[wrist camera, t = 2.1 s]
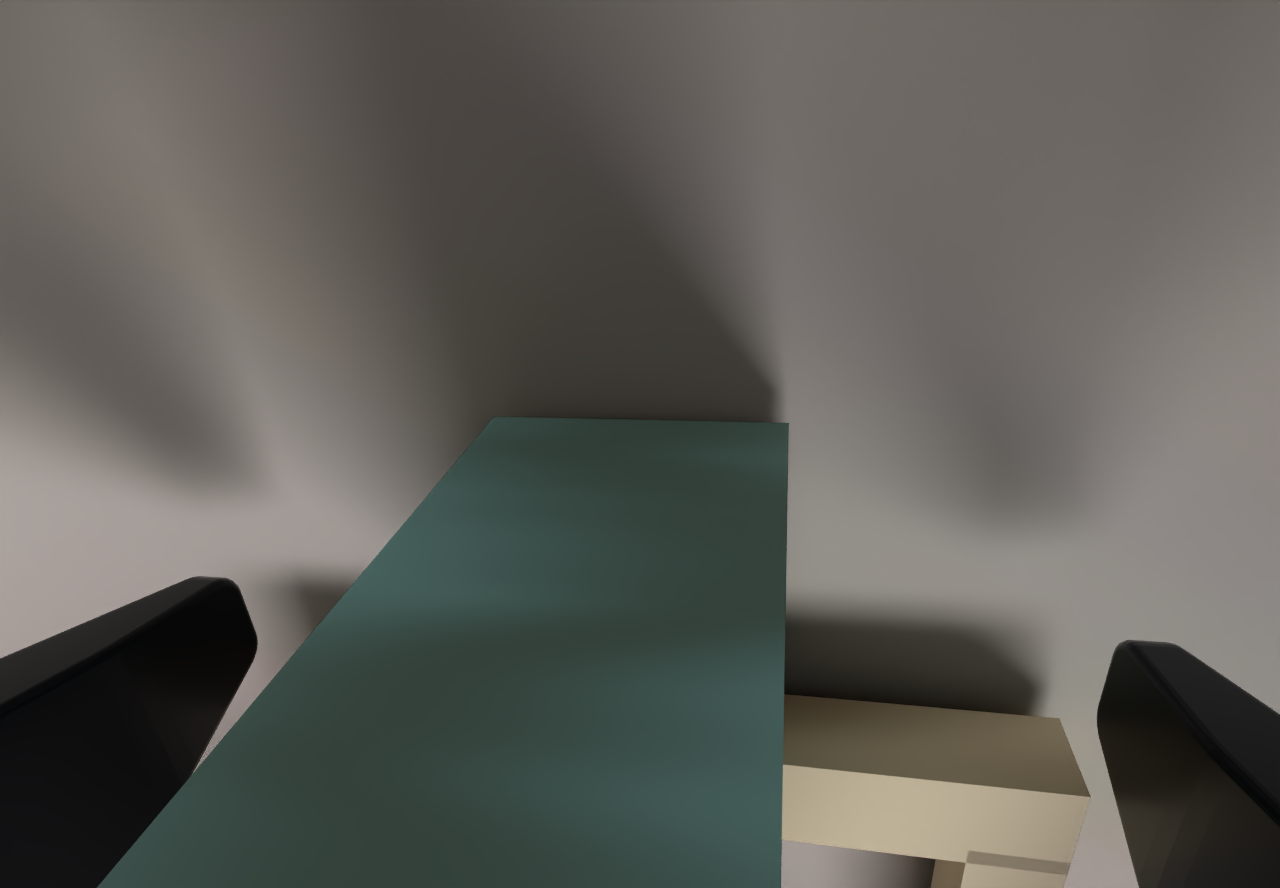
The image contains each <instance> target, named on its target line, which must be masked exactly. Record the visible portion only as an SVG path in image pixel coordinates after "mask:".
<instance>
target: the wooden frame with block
mask: <svg viewBox="0 0 1280 888" xmlns="http://www.w3.org/2000/svg"><path fill="white" fill-rule="evenodd" d="M788 431H789V423H766V422H720V421H673V420H626V419H579V418H532V417H494V418H493V419H492V420H491V421H490V422H489V423H488V425H487V426H486V427H485V428H484V429H483V431H482V432H481V433H480V434H479V435H478V436H477V438H476V439H475V440H474V441H473V442H472V444H471V445H470V446H469V447H468V448H467V450H466V451H465V452H464V453H463V454H462V455H461V457H460V458H459V459H458V460H457V461H456V463H455V464H454V465H453V466H452V467H451V468H450V470H449V471H448V472H447V473H446V474H445V476H444V477H443V478H442V479H441V480H440V482H439V483H438V484H437V485H436V486H435V487H434V489H433V490H432V491H431V492H430V493H429V495H428V496H427V497H426V498H425V499H424V501H423V502H422V503H421V504H420V505H419V506H418V508H417V509H416V510H415V511H414V512H413V514H412V515H411V516H410V517H409V518H408V519H407V521H406V522H405V523H404V524H403V525H402V527H401V528H400V529H399V530H398V531H397V533H396V534H395V535H394V536H393V537H392V538H391V540H390V541H389V542H388V543H387V544H386V546H385V547H384V548H383V549H382V550H381V551H380V553H379V554H378V555H377V556H376V557H375V559H374V560H373V561H372V562H371V563H370V565H369V566H368V567H367V568H366V569H365V570H364V572H363V573H362V574H361V575H360V576H359V578H358V579H357V580H356V581H355V582H354V583H353V585H352V586H351V587H350V588H349V589H348V591H347V592H346V593H345V594H344V595H343V597H342V598H341V599H340V600H339V601H338V602H337V604H336V605H335V606H334V607H333V608H332V610H331V611H330V612H329V613H328V614H327V616H326V617H325V618H324V619H323V620H322V621H321V623H320V624H319V625H318V626H317V627H316V629H315V630H314V631H313V632H312V633H311V634H310V636H309V637H308V638H307V639H306V640H305V642H304V643H303V644H302V645H301V646H300V648H299V649H298V650H297V651H296V652H295V653H294V655H293V656H292V657H291V658H290V659H289V661H288V662H287V663H286V664H285V665H284V666H283V668H282V669H281V670H280V671H279V672H278V674H277V675H276V676H275V677H274V678H273V680H272V681H271V682H270V683H269V684H268V685H267V687H266V688H265V689H264V690H263V691H262V693H261V694H260V695H259V696H258V697H257V698H256V700H255V701H254V702H253V703H252V704H251V706H250V707H249V708H248V709H247V710H246V712H245V713H244V714H243V715H242V716H241V717H240V719H239V720H238V721H237V722H236V723H235V725H234V726H233V727H232V728H231V729H230V731H229V732H228V733H227V734H226V735H225V736H224V738H223V739H222V740H221V741H220V742H219V744H218V745H217V746H216V747H215V748H214V749H213V751H212V752H211V753H210V754H209V755H208V757H207V758H206V759H205V760H204V761H203V763H202V764H201V765H200V766H199V767H198V768H197V770H196V771H195V772H194V773H193V774H192V776H191V777H190V778H189V779H188V780H187V781H186V783H185V784H184V785H183V786H182V787H181V789H180V790H179V791H178V792H177V793H176V795H175V796H174V797H173V798H172V799H171V800H170V802H169V803H168V804H167V805H166V806H165V808H164V809H163V810H162V811H161V812H160V813H159V815H158V816H157V817H156V818H155V819H154V821H153V822H152V823H151V824H150V825H149V827H148V828H147V829H146V830H145V831H144V832H143V834H142V835H141V836H140V837H139V838H138V840H137V841H136V842H135V843H134V844H133V846H132V847H131V848H130V849H129V850H128V851H127V853H126V854H125V855H124V856H123V857H122V859H121V860H120V861H119V862H118V863H117V864H116V866H115V867H114V868H113V869H112V870H111V872H110V873H109V874H108V875H107V876H106V878H105V879H104V880H103V881H102V882H101V883H100V885H99V886H98V887H97V888H781V851H782V840H787V841H795V842H803V843H811V844H819V845H827V846H835V847H843V848H851V849H859V850H867V851H875V852H883V853H891V854H899V855H908V856H916V857H924V858H932V859H936V860H935V866H934V871H933V877H932V883H931V888H1063V887H1064V884H1065V881H1066V877H1067V874H1068V871H1069V867H1070V864H1071V861H1072V858H1073V854H1074V851H1075V848H1076V844H1077V841H1078V838H1079V834H1080V831H1081V828H1082V824H1083V821H1084V818H1085V815H1086V811H1087V808H1088V805H1089V801H1090V798H1091V797H1090V794H1089V792H1088V789H1087V787H1086V784H1085V782H1084V779H1083V777H1082V774H1081V772H1080V769H1079V767H1078V764H1077V762H1076V759H1075V757H1074V754H1073V752H1072V749H1071V747H1070V744H1069V742H1068V739H1067V737H1066V734H1065V732H1064V729H1063V727H1062V724H1061V722H1060V719H1059V718H1047V717H1036V716H1025V715H1013V714H1002V713H991V712H979V711H968V710H957V709H946V708H934V707H923V706H912V705H900V704H889V703H878V702H866V701H855V700H844V699H833V698H821V697H810V696H799V695H787V694H784V671H785V611H786V551H787V491H788Z"/></svg>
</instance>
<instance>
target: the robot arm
mask: <svg viewBox="0 0 1280 888" xmlns="http://www.w3.org/2000/svg"><path fill="white" fill-rule="evenodd" d="M257 645H258V642H257V635H256V631H255V629H254V626H253V623H252V621H251V618H250V615H249V613H248V610H247V607H246V605H245V602H244V599H243V596H242V594H241V591H240V589H239V587H238V586H237V585H236V584H235V583H234V582H233V581H232V580H230V579H227V578H219V577H205V576H197V577H192V578H189V579H186V580H184V581H181V582H179V583H177V584H174V585H172V586H170V587H167V588H165V589H163V590H160V591H158V592H156V593H153V594H151V595H149V596H146V597H144V598H141V599H139V600H137V601H134V602H132V603H130V604H127V605H125V606H123V607H120V608H118V609H116V610H113V611H111V612H109V613H106V614H104V615H102V616H99V617H97V618H94V619H92V620H90V621H87V622H85V623H83V624H80V625H78V626H76V627H73V628H71V629H69V630H66V631H64V632H62V633H59V634H57V635H55V636H52V637H50V638H47V639H45V640H43V641H40V642H38V643H36V644H33V645H31V646H29V647H26V648H24V649H22V650H19V651H17V652H15V653H12V654H10V655H7V656H5V657H3V658H0V888H97V887H98V886H99V885H100V883H101V882H102V881H103V880H104V879H105V878H106V876H107V875H108V874H109V873H110V872H111V870H112V869H113V868H114V867H115V866H116V864H117V863H118V862H119V861H120V860H121V859H122V857H123V856H124V855H125V854H126V853H127V851H128V850H129V849H130V848H131V847H132V846H133V844H134V843H135V842H136V841H137V840H138V838H139V837H140V836H141V835H142V834H143V832H144V831H145V830H146V829H147V828H148V827H149V825H150V824H151V823H152V822H153V821H154V819H155V818H156V817H157V816H158V815H159V813H160V812H161V811H162V810H163V809H164V808H165V806H166V805H167V804H168V803H169V802H170V800H171V799H172V798H173V797H174V796H175V795H176V793H177V792H178V791H179V790H180V789H181V787H182V786H183V785H184V784H185V783H186V781H187V780H188V779H189V778H190V777H191V775H192V773H193V771H194V770H195V768H196V766H197V764H198V762H199V761H200V759H201V757H202V755H203V753H204V751H205V749H206V748H207V746H208V744H209V742H210V740H211V738H212V736H213V735H214V733H215V731H216V729H217V727H218V725H219V724H220V722H221V720H222V718H223V716H224V714H225V712H226V711H227V709H228V707H229V705H230V703H231V701H232V699H233V698H234V696H235V694H236V692H237V690H238V688H239V686H240V685H241V683H242V681H243V679H244V677H245V675H246V673H247V672H248V670H249V668H250V666H251V664H252V662H253V660H254V658H255V655H256V651H257ZM1097 728H1098V734H1099V739H1100V743H1101V746H1102V750H1103V754H1104V758H1105V762H1106V765H1107V769H1108V773H1109V777H1110V780H1111V784H1112V788H1113V792H1114V795H1115V799H1116V803H1117V807H1118V810H1119V814H1120V818H1121V822H1122V825H1123V829H1124V833H1125V837H1126V841H1127V844H1128V848H1129V852H1130V856H1131V859H1132V863H1133V867H1134V871H1135V874H1136V878H1137V882H1138V885H1139V888H1280V714H1278V713H1277V712H1275V711H1274V710H1273V709H1271V708H1270V707H1268V706H1267V705H1265V704H1264V703H1262V702H1261V701H1259V700H1258V699H1256V698H1255V697H1253V696H1252V695H1250V694H1249V693H1248V692H1246V691H1245V690H1243V689H1242V688H1240V687H1239V686H1237V685H1236V684H1234V683H1233V682H1231V681H1230V680H1228V679H1227V678H1226V677H1224V676H1223V675H1221V674H1220V673H1218V672H1217V671H1215V670H1214V669H1212V668H1211V667H1209V666H1208V665H1206V664H1205V663H1203V662H1202V661H1201V660H1199V659H1198V658H1196V657H1195V656H1193V655H1192V654H1190V653H1189V652H1187V651H1186V650H1184V649H1183V648H1181V647H1179V646H1178V645H1175V644H1172V643H1166V642H1152V641H1138V640H1126V641H1124V642H1121V643H1120V644H1119V645H1118V646H1117V647H1116V649H1115V651H1114V653H1113V656H1112V660H1111V663H1110V667H1109V670H1108V674H1107V677H1106V681H1105V684H1104V688H1103V691H1102V695H1101V699H1100V702H1099V706H1098V711H1097Z"/></svg>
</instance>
